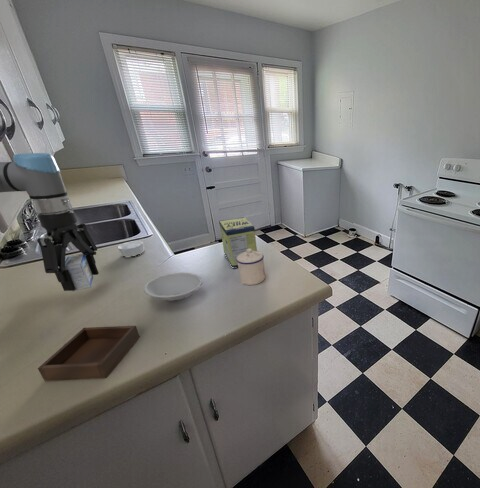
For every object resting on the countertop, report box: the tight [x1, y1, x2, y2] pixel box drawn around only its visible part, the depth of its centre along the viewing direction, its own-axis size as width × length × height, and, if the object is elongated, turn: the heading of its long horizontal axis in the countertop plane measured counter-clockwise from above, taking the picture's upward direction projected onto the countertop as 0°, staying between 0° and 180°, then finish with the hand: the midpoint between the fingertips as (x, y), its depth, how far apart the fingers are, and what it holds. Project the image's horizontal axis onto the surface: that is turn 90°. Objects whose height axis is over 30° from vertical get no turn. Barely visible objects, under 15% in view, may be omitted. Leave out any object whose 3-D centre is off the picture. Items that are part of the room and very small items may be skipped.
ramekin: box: [117, 240, 145, 257], centre depth 115 cm, size 9×9×4 cm
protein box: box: [218, 216, 258, 268], centre depth 108 cm, size 10×16×16 cm
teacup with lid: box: [236, 249, 266, 286], centre depth 95 cm, size 12×9×12 cm
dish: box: [143, 272, 203, 302], centre depth 85 cm, size 18×14×5 cm
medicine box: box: [65, 253, 94, 292], centre depth 82 cm, size 8×4×9 cm, turn 34°
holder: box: [37, 325, 141, 382], centre depth 63 cm, size 13×13×4 cm
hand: (82, 281), depth 84 cm, fingers closed on medicine box, 9 cm apart
